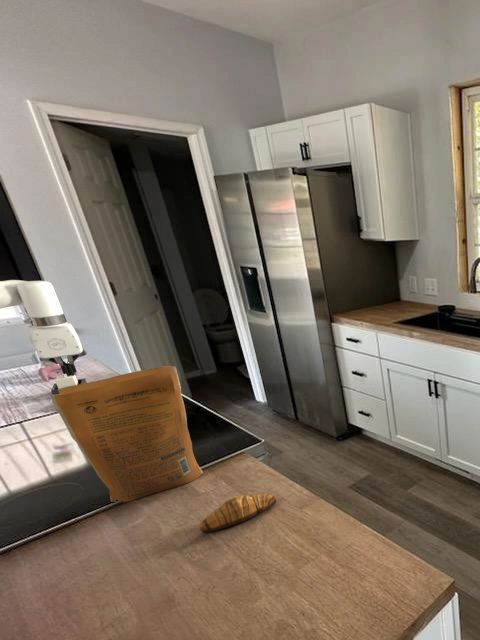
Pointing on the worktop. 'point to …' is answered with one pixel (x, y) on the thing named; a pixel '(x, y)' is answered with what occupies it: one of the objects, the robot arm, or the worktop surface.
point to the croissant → (237, 511)
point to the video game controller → (50, 371)
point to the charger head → (66, 381)
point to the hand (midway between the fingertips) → (71, 375)
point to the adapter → (56, 391)
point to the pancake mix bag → (132, 431)
